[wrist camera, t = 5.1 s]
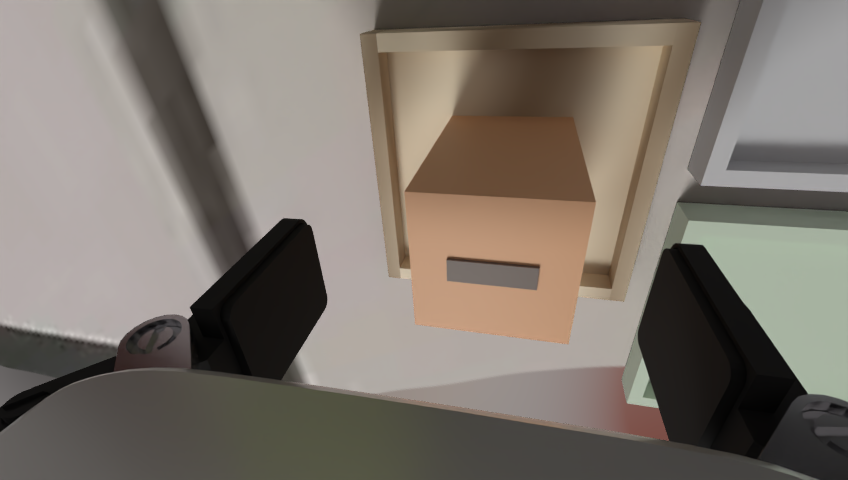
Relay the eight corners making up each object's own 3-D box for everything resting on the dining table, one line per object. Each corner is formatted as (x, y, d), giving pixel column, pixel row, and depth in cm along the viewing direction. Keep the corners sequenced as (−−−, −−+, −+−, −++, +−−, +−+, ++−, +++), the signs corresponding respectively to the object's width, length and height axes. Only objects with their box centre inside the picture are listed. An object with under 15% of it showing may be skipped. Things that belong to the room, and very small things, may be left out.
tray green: (1022, 220, 14) (1069, 244, 13) (860, 413, 19) (882, 442, 18) (676, 202, 16) (688, 220, 15) (621, 379, 22) (626, 403, 20)
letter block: (573, 117, 15) (596, 204, 9) (557, 225, 17) (568, 349, 11) (452, 115, 16) (403, 193, 10) (453, 218, 18) (414, 328, 12)
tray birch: (685, 18, 13) (701, 21, 12) (618, 280, 19) (624, 301, 17) (373, 29, 15) (360, 34, 14) (397, 259, 21) (388, 276, 20)
